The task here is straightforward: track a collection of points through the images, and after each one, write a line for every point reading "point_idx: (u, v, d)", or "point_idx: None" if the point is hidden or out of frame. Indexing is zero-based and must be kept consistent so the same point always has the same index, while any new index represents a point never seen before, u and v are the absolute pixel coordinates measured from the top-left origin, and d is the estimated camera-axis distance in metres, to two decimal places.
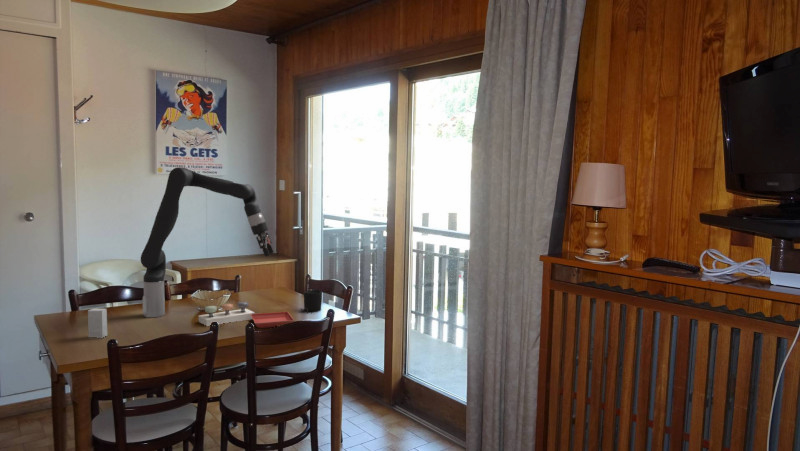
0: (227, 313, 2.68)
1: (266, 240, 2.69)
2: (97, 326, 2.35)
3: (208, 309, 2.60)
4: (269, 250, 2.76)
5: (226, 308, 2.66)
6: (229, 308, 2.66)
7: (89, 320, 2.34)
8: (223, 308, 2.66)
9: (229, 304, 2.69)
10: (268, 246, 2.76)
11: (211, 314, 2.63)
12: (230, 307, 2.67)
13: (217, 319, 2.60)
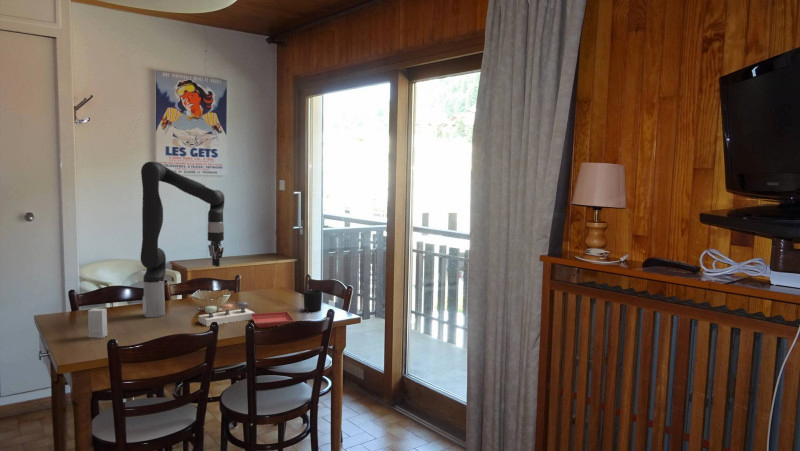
0: (227, 313, 2.68)
1: None
2: (97, 326, 2.35)
3: (208, 309, 2.60)
4: (214, 262, 2.75)
5: (226, 308, 2.66)
6: (229, 308, 2.66)
7: (89, 320, 2.34)
8: (223, 308, 2.66)
9: (229, 304, 2.69)
10: (214, 258, 2.75)
11: (211, 314, 2.63)
12: (230, 307, 2.67)
13: (217, 319, 2.60)
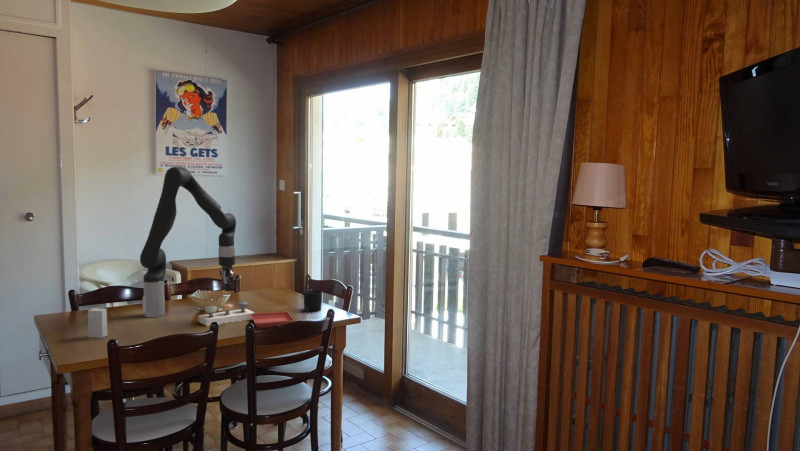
0: (227, 313, 2.68)
1: None
2: (97, 326, 2.35)
3: (208, 309, 2.60)
4: None
5: (226, 308, 2.66)
6: (229, 308, 2.66)
7: (89, 320, 2.34)
8: (223, 308, 2.66)
9: (229, 304, 2.69)
10: None
11: (211, 314, 2.63)
12: (230, 307, 2.67)
13: (217, 319, 2.60)
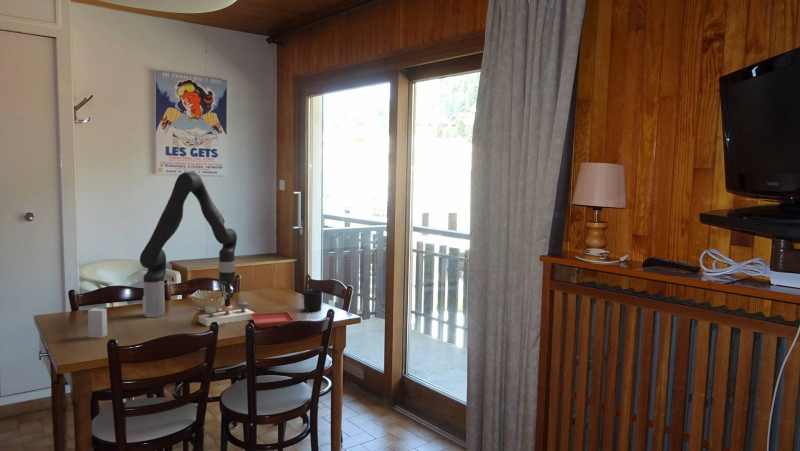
0: (227, 314, 2.68)
1: None
2: (97, 326, 2.35)
3: (208, 309, 2.60)
4: None
5: (226, 309, 2.66)
6: (229, 309, 2.66)
7: (89, 320, 2.34)
8: (223, 309, 2.66)
9: None
10: None
11: (211, 314, 2.63)
12: (230, 309, 2.67)
13: (217, 319, 2.60)
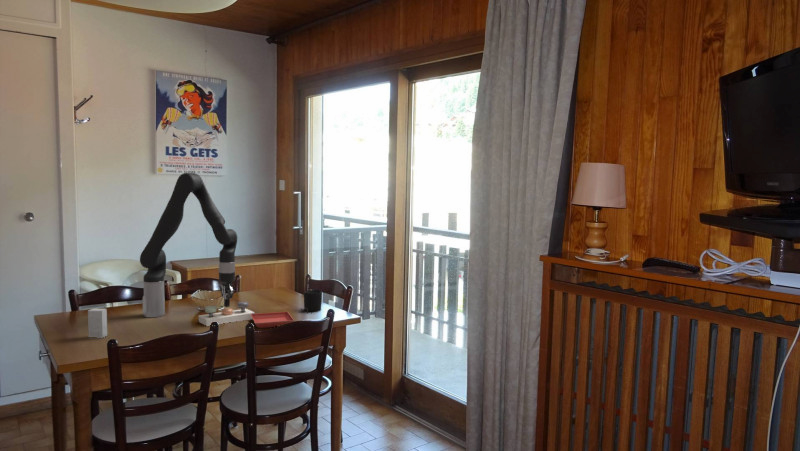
0: None
1: None
2: (97, 326, 2.35)
3: (208, 309, 2.60)
4: None
5: (226, 313, 2.66)
6: (229, 313, 2.67)
7: (89, 320, 2.34)
8: (223, 313, 2.66)
9: (229, 309, 2.69)
10: None
11: (211, 314, 2.63)
12: (230, 312, 2.67)
13: (217, 319, 2.60)
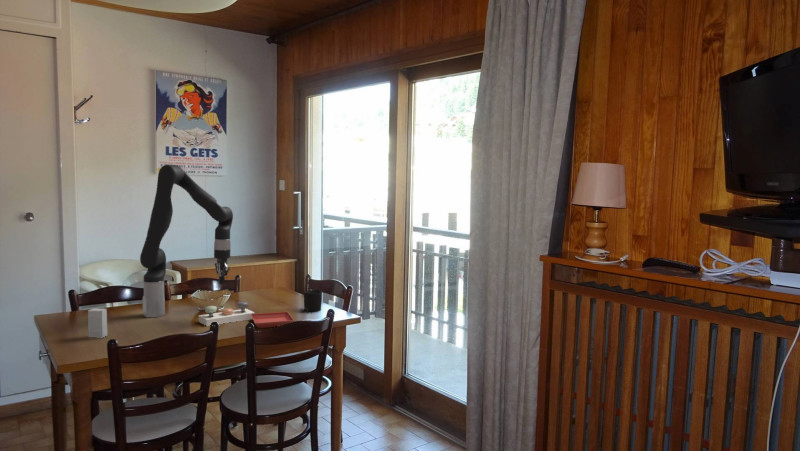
0: None
1: None
2: (97, 326, 2.35)
3: (208, 309, 2.60)
4: None
5: (226, 313, 2.66)
6: (229, 313, 2.67)
7: (89, 320, 2.34)
8: (223, 313, 2.66)
9: (229, 309, 2.69)
10: None
11: (211, 314, 2.63)
12: (230, 312, 2.67)
13: (217, 319, 2.60)
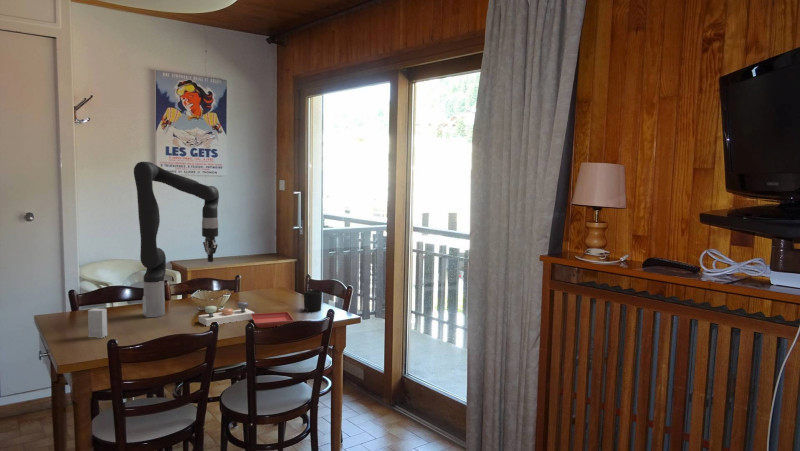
0: None
1: None
2: (97, 326, 2.35)
3: (208, 309, 2.60)
4: None
5: (226, 313, 2.66)
6: (229, 313, 2.67)
7: (89, 320, 2.34)
8: (223, 313, 2.66)
9: (229, 309, 2.69)
10: None
11: (211, 314, 2.63)
12: (230, 312, 2.67)
13: (217, 319, 2.60)
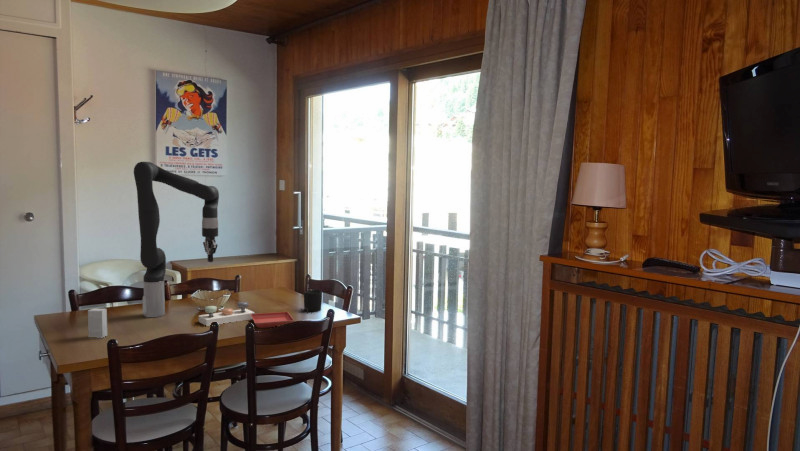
0: None
1: None
2: (97, 326, 2.35)
3: (208, 309, 2.60)
4: None
5: (226, 313, 2.66)
6: (229, 313, 2.67)
7: (89, 320, 2.34)
8: (223, 313, 2.66)
9: (229, 309, 2.69)
10: None
11: (211, 314, 2.63)
12: (230, 312, 2.67)
13: (217, 319, 2.60)
